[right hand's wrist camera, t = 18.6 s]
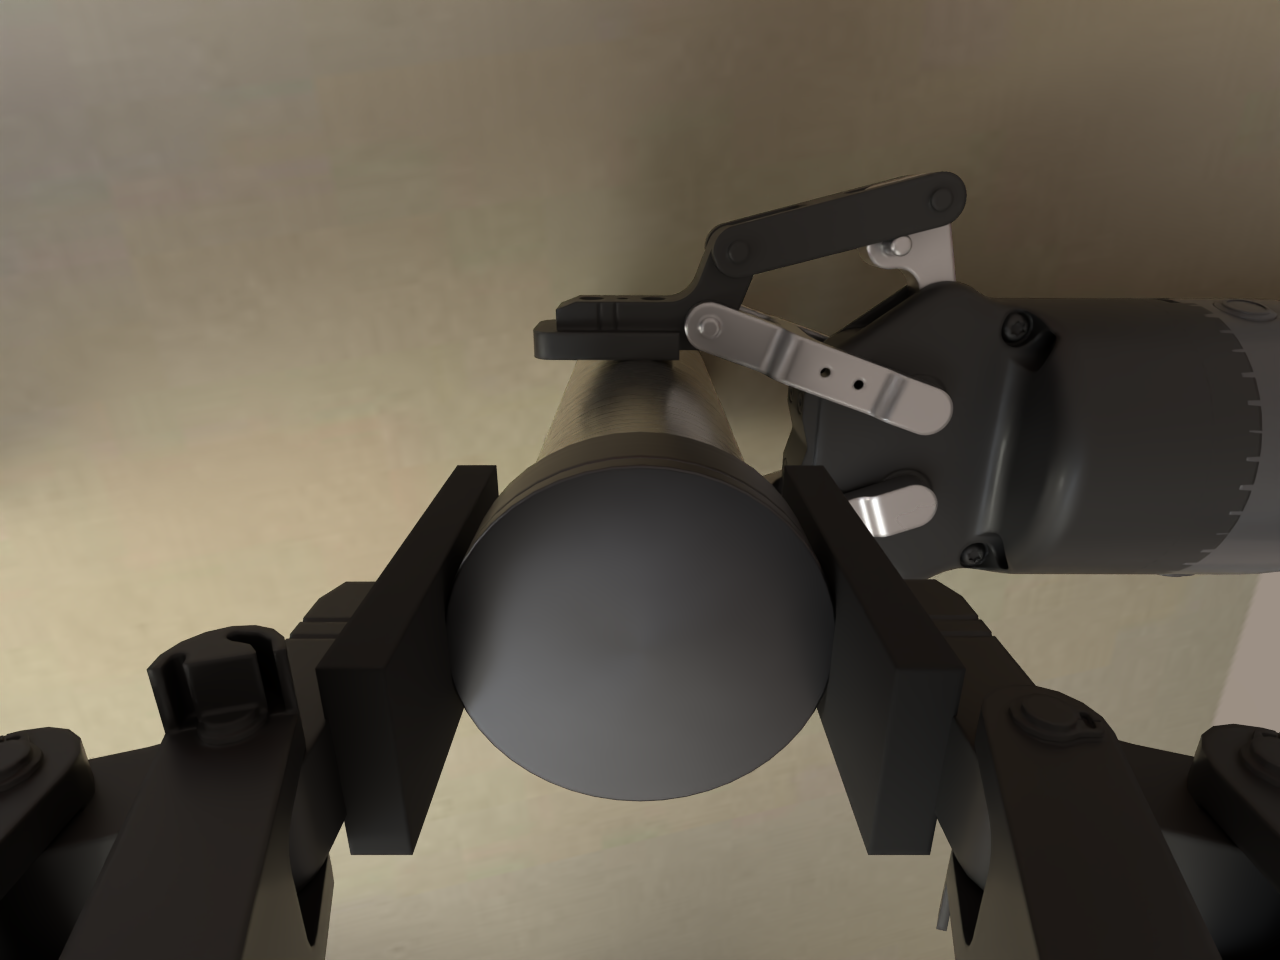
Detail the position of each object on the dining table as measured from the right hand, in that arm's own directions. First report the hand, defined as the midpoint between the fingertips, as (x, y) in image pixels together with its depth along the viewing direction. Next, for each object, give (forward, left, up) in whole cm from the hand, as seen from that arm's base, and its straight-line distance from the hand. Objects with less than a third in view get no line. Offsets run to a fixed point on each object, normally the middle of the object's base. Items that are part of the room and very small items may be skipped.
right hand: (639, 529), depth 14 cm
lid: (0, 0, +4) cm, 4 cm away
